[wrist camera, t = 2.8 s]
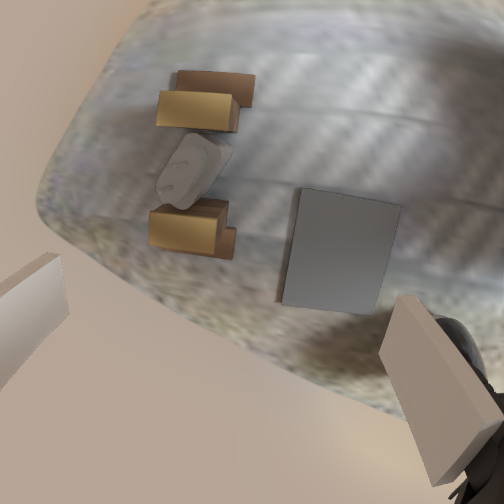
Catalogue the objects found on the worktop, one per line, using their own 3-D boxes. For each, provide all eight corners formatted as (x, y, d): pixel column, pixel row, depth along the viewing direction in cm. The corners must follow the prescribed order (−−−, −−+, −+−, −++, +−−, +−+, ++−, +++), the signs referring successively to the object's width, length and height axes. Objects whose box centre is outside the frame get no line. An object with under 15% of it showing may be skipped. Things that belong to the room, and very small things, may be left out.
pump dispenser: (454, 354, 35) (505, 434, 21) (385, 380, 37) (419, 473, 22) (456, 290, 32) (528, 366, 18) (378, 317, 34) (426, 416, 19)
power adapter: (177, 179, 30) (125, 204, 19) (208, 131, 28) (168, 126, 17) (204, 197, 30) (166, 232, 19) (236, 148, 29) (213, 154, 17)
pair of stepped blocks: (180, 71, 26) (153, 53, 19) (255, 76, 26) (250, 56, 19) (164, 247, 32) (137, 278, 25) (232, 257, 32) (222, 291, 25)
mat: (301, 187, 29) (301, 188, 29) (399, 205, 29) (401, 206, 29) (281, 302, 34) (281, 305, 33) (370, 312, 33) (371, 315, 33)
